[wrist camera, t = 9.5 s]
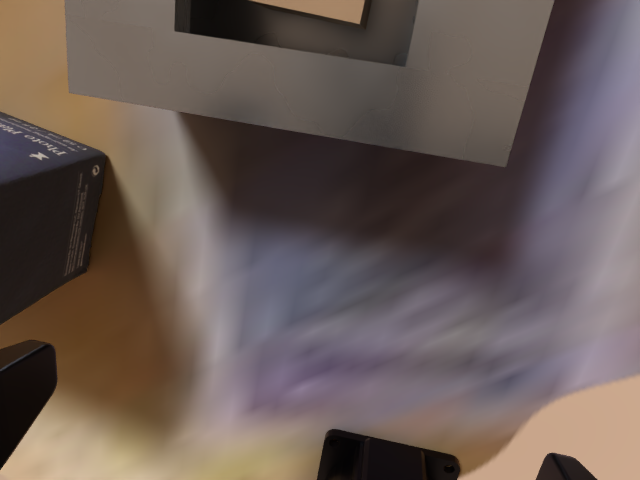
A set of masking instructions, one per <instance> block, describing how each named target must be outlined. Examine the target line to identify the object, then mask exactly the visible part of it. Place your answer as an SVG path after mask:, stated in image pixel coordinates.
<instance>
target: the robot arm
mask: <svg viewBox="0 0 640 480" xmlns="http://www.w3.org/2000/svg"><path fill="white" fill-rule="evenodd" d="M56 385H57V366H56V352H55V348H54V346H53V345H51V344H50V343H46V342H41V341H36V340H28V341H25V342H22V343H19V344H16V345H12V346H9V347H6V348H3V349H0V470H1V468H2V467H3V466H4V464H5V463H6V462H7V460H8V459H9V457H10V456H11V455H12V453H13V452H14V450H15V449H16V447H17V446H18V444H19V443H20V441H21V440H22V439H23V437H24V436H25V434H26V433H27V431H28V430H29V428H30V427H31V425H32V424H33V422H34V421H35V419H36V418H37V416H38V415H39V414H40V412H41V411H42V409H43V408H44V406H45V405H46V403H47V402H48V400H49V399H50V397H51V396H52V394H53V393H54V391H55V388H56ZM332 439H336V440H338V441H332ZM446 465H451V466H450V467H447V466H446ZM459 472H460V466H459V461H458V459H457V458H456V457H455V456H453V455H450V454H445V453H441V452H436V451H432V450H427V449H423V448H418V447H414V446H409V445H405V444H400V443H396V442H391V441H387V440H382V439H378V438H373V437H369V436H364V435H360V434H355V433H351V432H346V431H342V430H337V429H332V430H329V431H328V432H327V433H326V435H325V440H324V445H323V450H322V456H321V461H320V466H319V471H318V477H317V480H457V478H458V475H459ZM536 480H597V479H596V478H595V477H594V476H593V475H592V474H591V473H590V472H589V471H588V470H587V469H586V468H585V467H584V466H583V465H582V464H581V463H580V462H579V461H577V460H576V459H575V458H573V457H570V456H566V455H561V454H557V453H549V454H547V456H546V457H545V459H544V461H543V464H542V466H541V468H540V470H539V473H538V475H537V478H536Z"/></svg>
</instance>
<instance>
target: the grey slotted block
mask: <svg viewBox="0 0 640 480" xmlns="http://www.w3.org/2000/svg"><path fill="white" fill-rule="evenodd" d="M553 3H554V0H372V3H371V8H370V12H369V17H368V21H367V26H366V30H364V29H359V28H355V27H350V26H345V25H341V24H336V23H332V22H327V21H322V20H318V19H313V18H308V17H304V16H299V15H294V14H290V13H285V12H281V11H276V10H271V9H268V8H265V7H263V6H260V5H258V4H255V3H252V2H250V1H247V0H65V18H66V40H67V61H68V83H69V93H73V94H79V95H84V96H90V97H96V98H102V99H108V100H114V101H120V102H126V103H131V104H137V105H143V106H149V107H155V108H161V109H167V110H172V111H178V112H184V113H190V114H196V115H202V116H208V117H214V118H219V119H225V120H231V121H237V122H243V123H249V124H255V125H260V126H266V127H272V128H278V129H284V130H290V131H296V132H302V133H307V134H313V135H319V136H325V137H331V138H337V139H343V140H348V141H354V142H360V143H366V144H372V145H378V146H384V147H390V148H395V149H401V150H407V151H413V152H419V153H425V154H431V155H436V156H442V157H448V158H454V159H460V160H466V161H472V162H478V163H483V164H489V165H495V166H501V167H506V165H507V162H508V158H509V155H510V151H511V148H512V144H513V141H514V137H515V134H516V131H517V127H518V124H519V120H520V117H521V113H522V110H523V106H524V103H525V100H526V96H527V93H528V89H529V86H530V82H531V79H532V75H533V72H534V69H535V65H536V62H537V58H538V55H539V51H540V48H541V44H542V41H543V38H544V34H545V31H546V27H547V24H548V20H549V17H550V13H551V10H552V7H553Z"/></svg>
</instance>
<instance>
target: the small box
mask: <svg viewBox="0 0 640 480" xmlns="http://www.w3.org/2000/svg"><path fill="white" fill-rule="evenodd" d="M105 159H106V156H105V153H103V152H101V151H99V150H97V149H94V148H92V147H89V146H87V145H84V144H81V143H79V142H76V141H74V140H71V139H69V138H66V137H64V136H61V135H59V134H56V133H54V132H51V131H48V130H46V129H43V128H41V127H38V126H36V125H33V124H31V123H28V122H26V121H23V120H20V119H17V118H15V117H13V116H10V115H7V114H5V113H2V112H0V325H1V324H2V323H4V322H5V321H7V320H8V319H10V318H11V317H13V316H15V315H16V314H18V313H19V312H21V311H23V310H24V309H26V308H27V307H29V306H31V305H32V304H34V303H35V302H37V301H38V300H40V299H41V298H42V297H44V296H46V295H47V294H49V293H50V292H52V291H54V290H55V289H57V288H59V287H60V286H62V285H64V284H65V283H67V282H69V281H70V280H72V279H74V278H76V277H78V276H80V275H81V274H84V273H86V272H87V267H88V265H89V250H90V248H91V239H92V234H93V229H94V222H95V217H96V213H97V207H98V201H99V196H100V195H101V193H102V185H103V175H104V166H105Z"/></svg>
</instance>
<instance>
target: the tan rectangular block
mask: <svg viewBox="0 0 640 480" xmlns="http://www.w3.org/2000/svg"><path fill="white" fill-rule="evenodd" d="M247 1H250V2H252V3H255V4H258V5H260V6H263V7H265V8H268V9H271V10H276V11H281V12H285V13H290V14H294V15H299V16H304V17H308V18H313V19H318V20H322V21H327V22H332V23H336V24H341V25H345V26H350V27H355V28H359V29H364V30H366V26H367V21H368V17H369V12H370V8H371V3H372V0H247Z"/></svg>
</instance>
